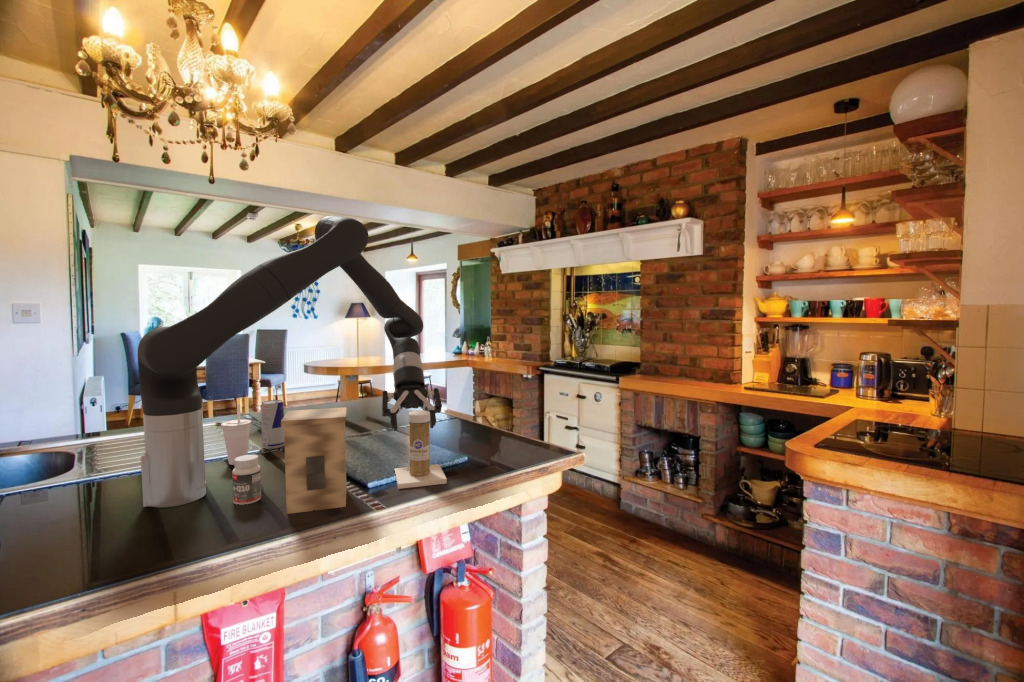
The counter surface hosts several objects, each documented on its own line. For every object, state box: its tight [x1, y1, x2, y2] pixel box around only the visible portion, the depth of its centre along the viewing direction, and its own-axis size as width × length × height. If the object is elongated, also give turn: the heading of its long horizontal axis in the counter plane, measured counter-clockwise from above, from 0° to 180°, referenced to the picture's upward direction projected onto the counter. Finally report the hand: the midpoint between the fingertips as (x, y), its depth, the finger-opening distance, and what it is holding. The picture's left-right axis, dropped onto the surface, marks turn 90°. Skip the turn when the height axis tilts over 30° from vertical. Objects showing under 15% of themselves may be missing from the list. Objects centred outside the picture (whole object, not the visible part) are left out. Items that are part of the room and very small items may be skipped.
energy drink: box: [260, 399, 285, 450], centre depth 128 cm, size 5×5×12 cm
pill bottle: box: [231, 454, 262, 506], centre depth 92 cm, size 5×5×8 cm
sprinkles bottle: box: [408, 410, 431, 476], centre depth 104 cm, size 5×5×14 cm
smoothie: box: [220, 403, 252, 466], centre depth 114 cm, size 6×6×14 cm
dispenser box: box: [281, 406, 348, 515], centre depth 91 cm, size 11×9×17 cm
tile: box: [393, 463, 448, 490], centre depth 104 cm, size 10×10×1 cm
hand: (414, 427), depth 114 cm, fingers open, 8 cm apart
